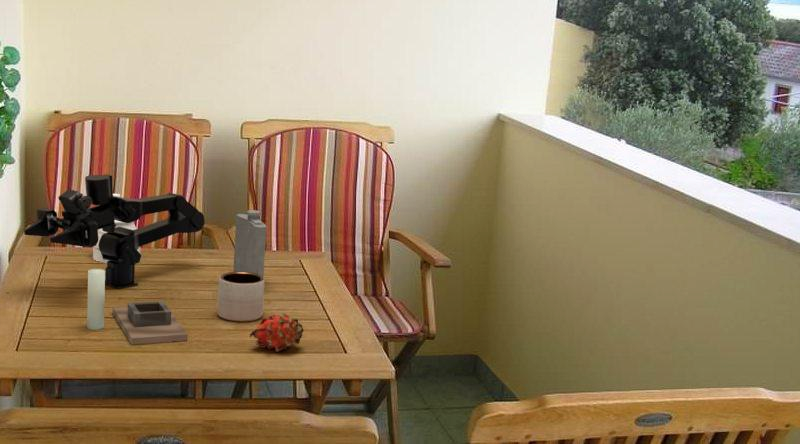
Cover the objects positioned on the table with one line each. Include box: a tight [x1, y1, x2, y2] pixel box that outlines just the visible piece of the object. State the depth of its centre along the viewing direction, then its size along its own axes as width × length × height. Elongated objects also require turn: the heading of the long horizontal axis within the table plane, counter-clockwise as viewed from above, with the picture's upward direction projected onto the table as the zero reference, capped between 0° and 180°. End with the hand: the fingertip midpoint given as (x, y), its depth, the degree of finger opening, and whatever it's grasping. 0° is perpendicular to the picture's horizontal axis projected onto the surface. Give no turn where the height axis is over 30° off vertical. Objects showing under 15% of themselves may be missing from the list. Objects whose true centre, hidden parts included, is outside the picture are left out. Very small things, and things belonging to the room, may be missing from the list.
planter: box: [216, 271, 266, 323], centre depth 227 cm, size 11×11×10 cm
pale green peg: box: [86, 268, 106, 331], centre depth 210 cm, size 4×4×13 cm
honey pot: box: [92, 193, 141, 264], centre depth 267 cm, size 13×13×18 cm
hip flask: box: [232, 209, 267, 278], centre depth 253 cm, size 16×4×20 cm, turn 31°
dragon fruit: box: [249, 312, 305, 353], centre depth 207 cm, size 8×8×12 cm
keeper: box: [112, 301, 188, 346], centre depth 214 cm, size 22×12×4 cm, turn 27°
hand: (37, 236), depth 220 cm, fingers open, 9 cm apart
